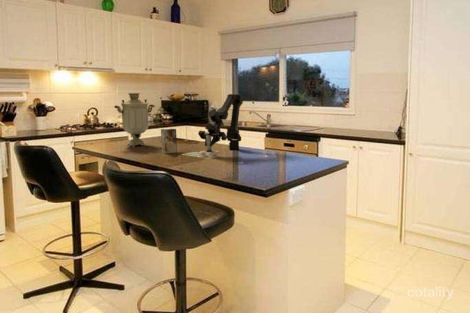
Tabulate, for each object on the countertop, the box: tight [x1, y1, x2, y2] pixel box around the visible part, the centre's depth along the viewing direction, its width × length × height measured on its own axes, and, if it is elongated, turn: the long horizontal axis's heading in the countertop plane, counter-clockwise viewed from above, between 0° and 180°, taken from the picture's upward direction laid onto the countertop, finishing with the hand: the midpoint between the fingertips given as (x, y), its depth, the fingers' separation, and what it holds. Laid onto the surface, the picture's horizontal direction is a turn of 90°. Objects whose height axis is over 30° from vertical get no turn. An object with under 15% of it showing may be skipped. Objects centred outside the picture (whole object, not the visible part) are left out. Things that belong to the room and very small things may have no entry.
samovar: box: [113, 92, 156, 148], centre depth 307 cm, size 30×26×40 cm
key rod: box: [205, 135, 213, 152], centre depth 251 cm, size 3×3×13 cm
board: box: [181, 149, 222, 159], centre depth 256 cm, size 26×12×4 cm, turn 51°
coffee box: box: [160, 128, 178, 154], centre depth 274 cm, size 9×6×16 cm
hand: (207, 146), depth 250 cm, fingers closed on key rod, 3 cm apart
